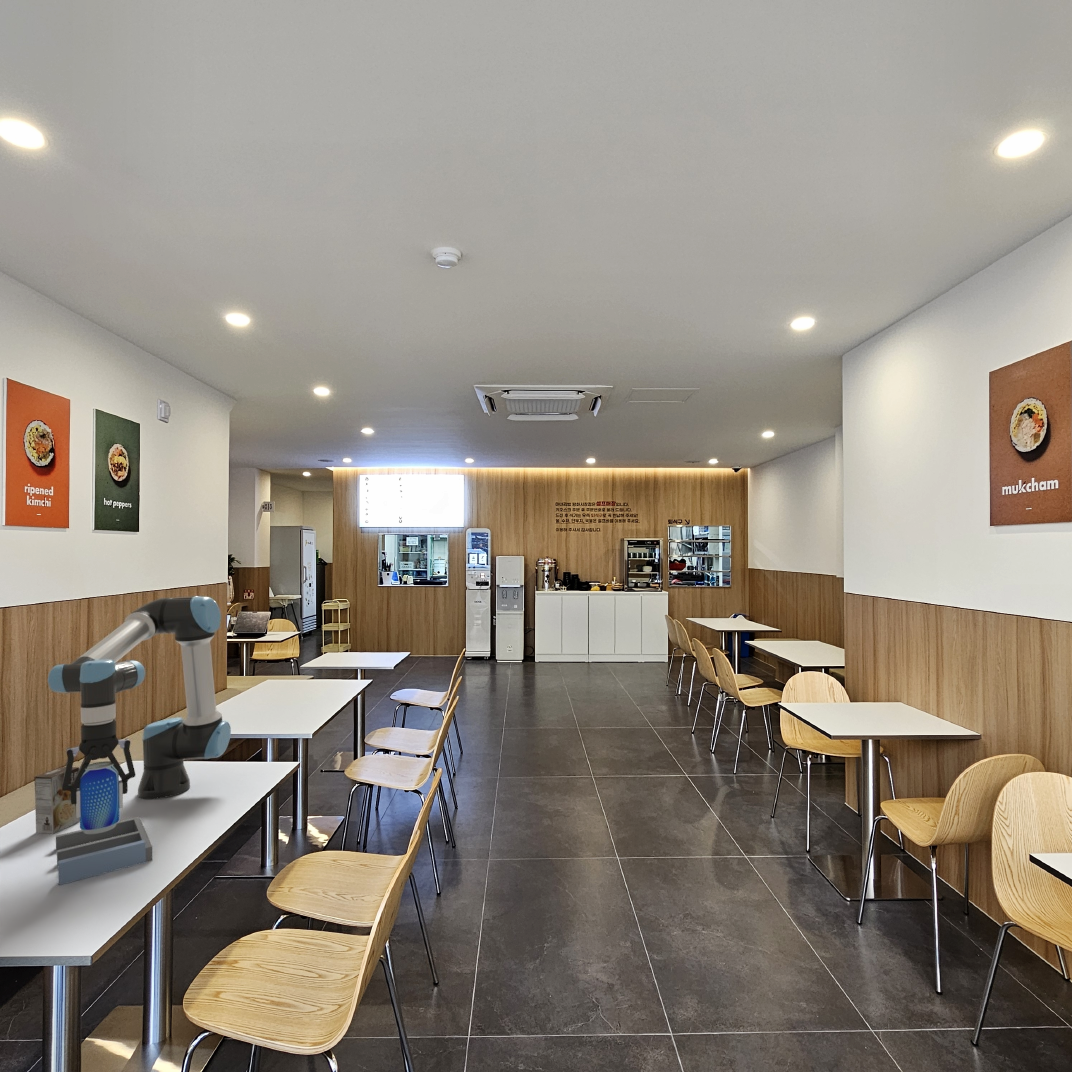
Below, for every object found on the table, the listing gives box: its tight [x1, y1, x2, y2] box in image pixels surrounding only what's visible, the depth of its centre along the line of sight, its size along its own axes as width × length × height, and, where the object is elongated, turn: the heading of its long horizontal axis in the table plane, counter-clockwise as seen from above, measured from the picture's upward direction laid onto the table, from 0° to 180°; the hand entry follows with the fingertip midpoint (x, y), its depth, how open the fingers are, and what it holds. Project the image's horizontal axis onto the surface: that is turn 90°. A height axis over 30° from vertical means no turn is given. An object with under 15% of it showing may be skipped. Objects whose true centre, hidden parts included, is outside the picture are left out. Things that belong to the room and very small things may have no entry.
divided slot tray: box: [55, 816, 153, 886], centre depth 177 cm, size 20×26×5 cm
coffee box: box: [33, 766, 80, 834], centre depth 197 cm, size 9×6×16 cm
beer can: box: [79, 760, 120, 834], centre depth 172 cm, size 8×8×16 cm
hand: (99, 811), depth 172 cm, fingers closed on beer can, 8 cm apart
